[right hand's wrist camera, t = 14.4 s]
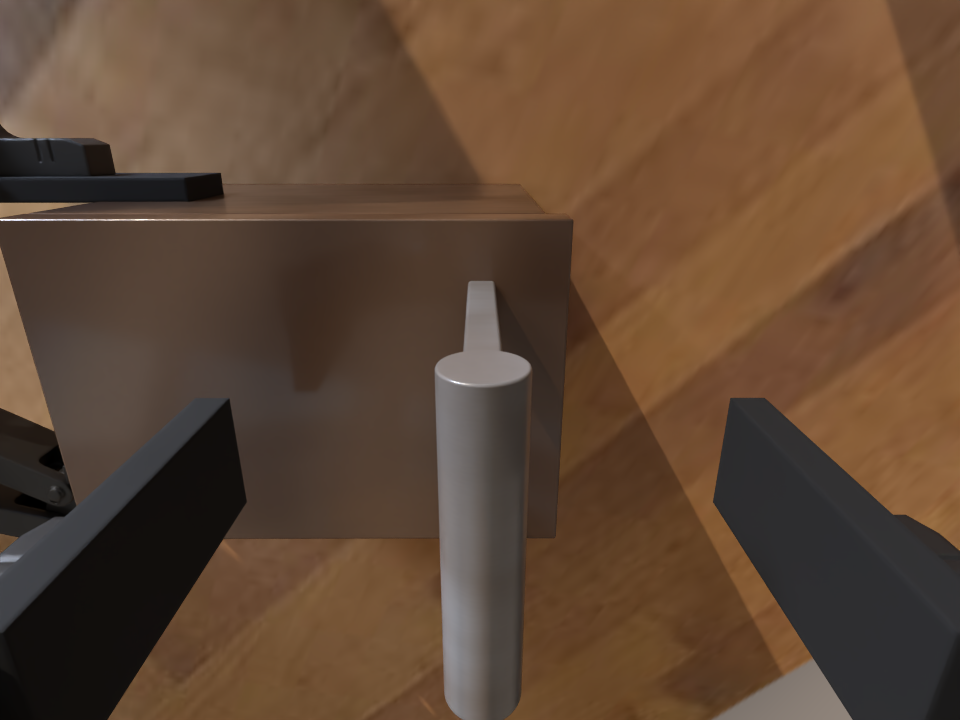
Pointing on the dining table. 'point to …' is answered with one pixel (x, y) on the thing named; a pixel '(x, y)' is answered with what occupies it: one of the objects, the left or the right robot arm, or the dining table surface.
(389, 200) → the chest
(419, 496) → the lid
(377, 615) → the dining table surface
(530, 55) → the dining table surface
